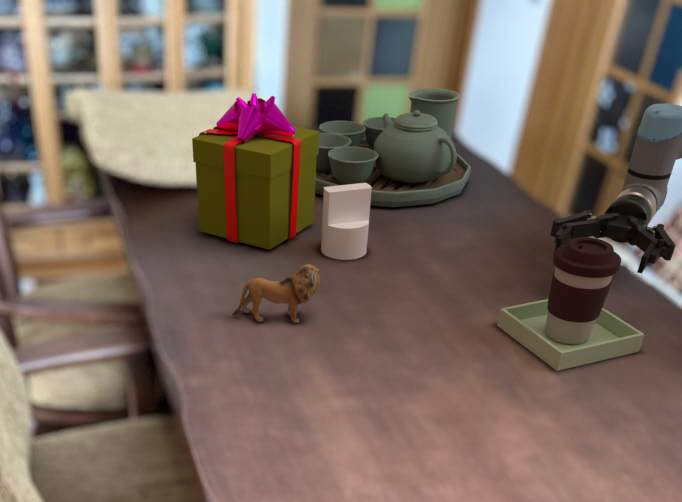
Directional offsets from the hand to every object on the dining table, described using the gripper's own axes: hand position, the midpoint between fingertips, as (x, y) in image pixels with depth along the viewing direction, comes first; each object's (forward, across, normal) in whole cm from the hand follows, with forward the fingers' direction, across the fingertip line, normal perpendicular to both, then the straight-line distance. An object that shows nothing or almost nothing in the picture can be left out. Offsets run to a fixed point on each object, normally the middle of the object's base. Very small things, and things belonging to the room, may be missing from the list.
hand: (598, 255), depth 134 cm
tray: (+8, 0, -11) cm, 14 cm away
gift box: (-4, +68, -11) cm, 69 cm away
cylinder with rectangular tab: (-4, +48, -11) cm, 49 cm away
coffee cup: (+9, 0, -11) cm, 14 cm away
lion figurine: (+27, +45, -11) cm, 53 cm away
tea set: (-46, +59, -11) cm, 76 cm away
